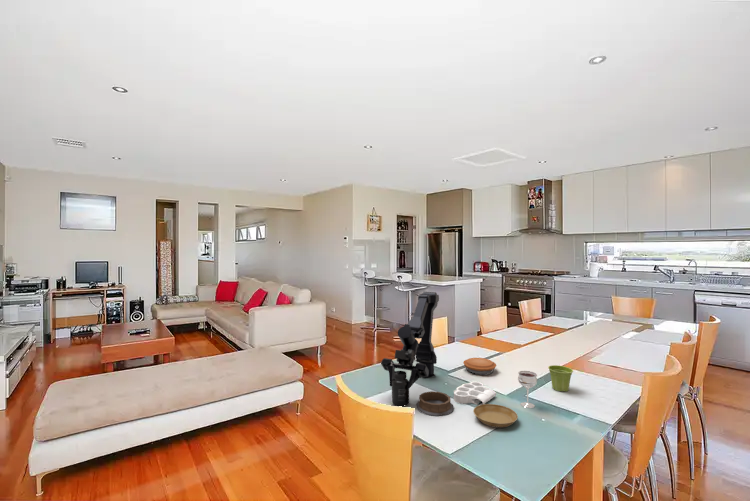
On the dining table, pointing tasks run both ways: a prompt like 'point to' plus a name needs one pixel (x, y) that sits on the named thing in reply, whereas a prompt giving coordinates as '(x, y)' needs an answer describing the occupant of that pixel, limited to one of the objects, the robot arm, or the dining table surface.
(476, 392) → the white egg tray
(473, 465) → the dining table surface
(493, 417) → the plant saucer
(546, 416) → the dining table surface
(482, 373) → the pie
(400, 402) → the supplement bottle
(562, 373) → the plant pot
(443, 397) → the walnut collar
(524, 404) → the wineglass
